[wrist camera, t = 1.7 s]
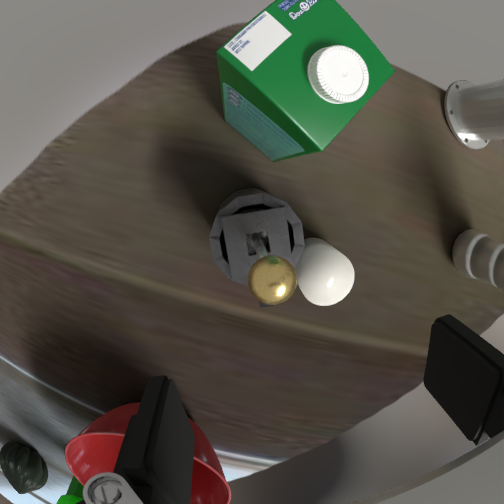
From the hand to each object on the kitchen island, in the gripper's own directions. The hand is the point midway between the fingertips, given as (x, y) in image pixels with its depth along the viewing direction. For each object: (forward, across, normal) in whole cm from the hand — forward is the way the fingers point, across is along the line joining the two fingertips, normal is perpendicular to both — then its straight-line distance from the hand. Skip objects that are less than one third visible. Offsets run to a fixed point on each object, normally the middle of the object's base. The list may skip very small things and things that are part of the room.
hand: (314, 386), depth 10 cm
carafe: (+34, 0, +1) cm, 34 cm away
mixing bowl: (+35, +24, +36) cm, 55 cm away
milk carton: (+34, -5, -14) cm, 38 cm away
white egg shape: (+34, -8, +7) cm, 36 cm away
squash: (+35, +70, +51) cm, 93 cm away
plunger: (+26, 0, 0) cm, 26 cm away
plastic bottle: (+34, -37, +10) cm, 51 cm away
